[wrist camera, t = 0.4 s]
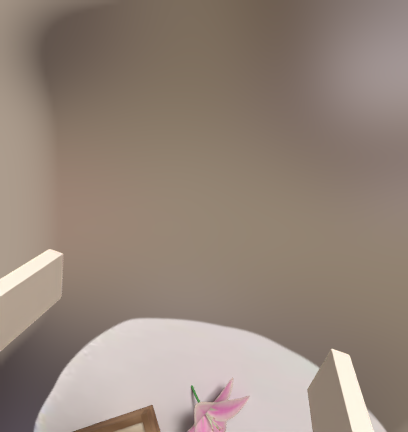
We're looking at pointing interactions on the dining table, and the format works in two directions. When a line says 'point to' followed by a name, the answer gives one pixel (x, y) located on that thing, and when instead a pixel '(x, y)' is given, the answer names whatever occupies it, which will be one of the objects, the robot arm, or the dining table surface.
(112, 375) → the dining table surface
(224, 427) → the lily
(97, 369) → the dining table surface
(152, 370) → the dining table surface
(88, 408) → the dining table surface
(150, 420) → the tray
